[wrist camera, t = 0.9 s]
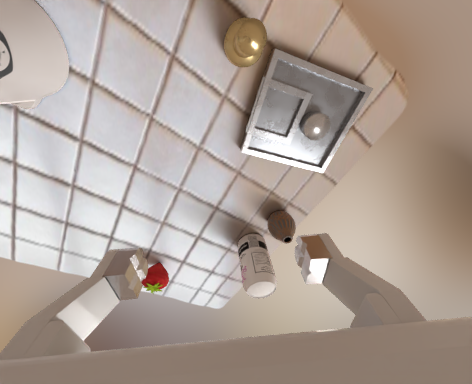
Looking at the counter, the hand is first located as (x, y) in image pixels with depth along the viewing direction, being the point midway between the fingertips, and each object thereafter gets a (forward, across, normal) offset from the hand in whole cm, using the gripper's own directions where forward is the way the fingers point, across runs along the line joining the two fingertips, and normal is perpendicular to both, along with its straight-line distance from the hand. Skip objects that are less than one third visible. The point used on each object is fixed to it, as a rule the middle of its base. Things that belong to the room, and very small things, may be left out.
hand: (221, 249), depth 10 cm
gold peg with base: (+32, -4, -12) cm, 35 cm away
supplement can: (+34, -6, +35) cm, 49 cm away
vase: (+34, -13, +26) cm, 45 cm away
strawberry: (+34, +22, +40) cm, 57 cm away
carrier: (+33, -16, 0) cm, 37 cm away
